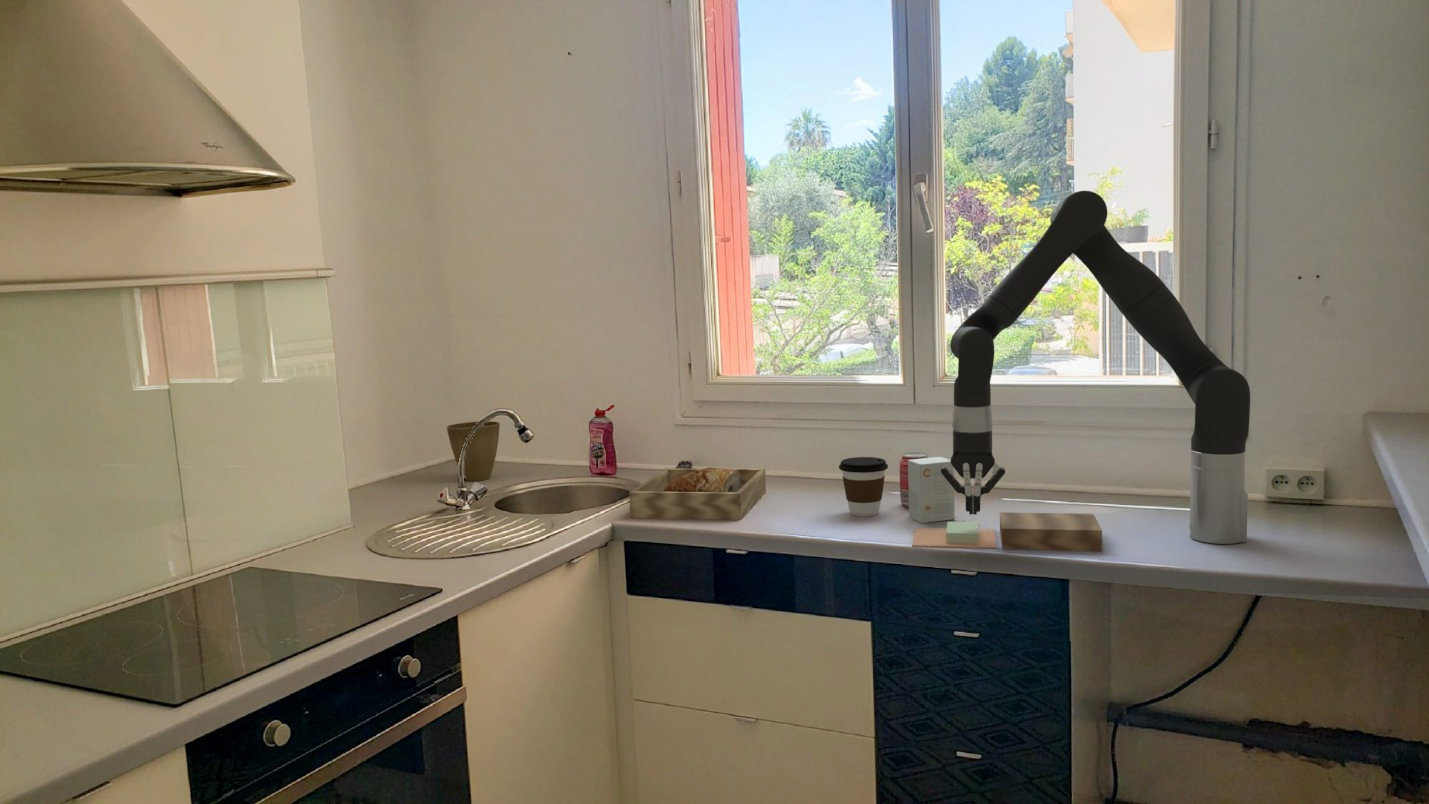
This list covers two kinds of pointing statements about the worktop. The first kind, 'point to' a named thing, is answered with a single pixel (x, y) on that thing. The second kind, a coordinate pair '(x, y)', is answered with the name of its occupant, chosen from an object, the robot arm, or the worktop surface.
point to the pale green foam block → (962, 532)
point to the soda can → (904, 474)
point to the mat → (939, 540)
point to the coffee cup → (863, 484)
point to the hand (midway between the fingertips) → (972, 513)
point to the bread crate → (696, 498)
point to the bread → (706, 481)
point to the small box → (930, 490)
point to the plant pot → (475, 448)
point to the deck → (1050, 531)
